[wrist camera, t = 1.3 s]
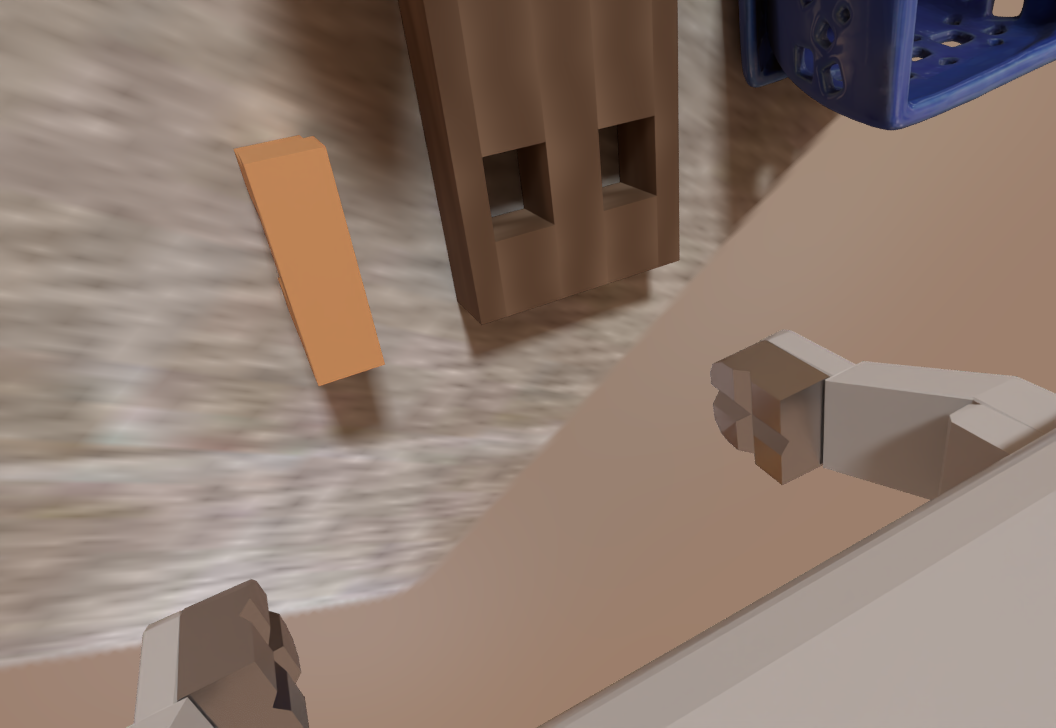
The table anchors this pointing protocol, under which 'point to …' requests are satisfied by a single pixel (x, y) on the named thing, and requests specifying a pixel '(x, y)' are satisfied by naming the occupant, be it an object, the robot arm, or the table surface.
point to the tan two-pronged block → (312, 254)
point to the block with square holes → (549, 141)
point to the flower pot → (893, 52)
